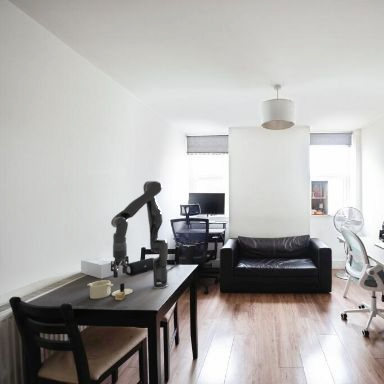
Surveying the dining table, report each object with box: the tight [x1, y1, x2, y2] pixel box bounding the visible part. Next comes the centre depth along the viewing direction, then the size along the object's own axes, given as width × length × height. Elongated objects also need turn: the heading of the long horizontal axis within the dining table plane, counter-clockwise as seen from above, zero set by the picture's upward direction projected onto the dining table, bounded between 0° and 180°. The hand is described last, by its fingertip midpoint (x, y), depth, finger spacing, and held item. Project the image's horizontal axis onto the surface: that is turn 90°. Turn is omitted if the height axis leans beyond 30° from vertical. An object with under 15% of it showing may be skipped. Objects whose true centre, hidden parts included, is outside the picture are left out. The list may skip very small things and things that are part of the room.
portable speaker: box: [125, 257, 155, 276], centre depth 224 cm, size 26×10×10 cm, turn 148°
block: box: [114, 292, 126, 301], centre depth 165 cm, size 4×4×4 cm
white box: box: [80, 257, 114, 280], centre depth 221 cm, size 32×11×11 cm, turn 58°
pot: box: [87, 279, 114, 300], centre depth 172 cm, size 11×17×8 cm
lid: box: [111, 281, 133, 297], centre depth 175 cm, size 12×12×7 cm
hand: (120, 275), depth 162 cm, fingers open, 8 cm apart
